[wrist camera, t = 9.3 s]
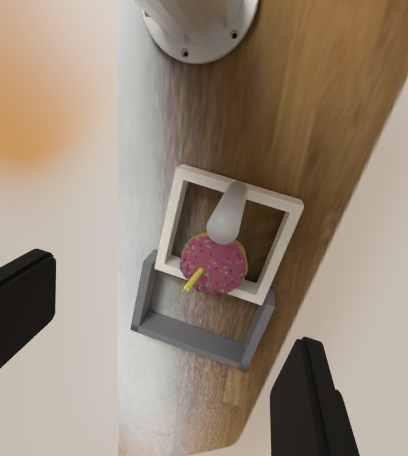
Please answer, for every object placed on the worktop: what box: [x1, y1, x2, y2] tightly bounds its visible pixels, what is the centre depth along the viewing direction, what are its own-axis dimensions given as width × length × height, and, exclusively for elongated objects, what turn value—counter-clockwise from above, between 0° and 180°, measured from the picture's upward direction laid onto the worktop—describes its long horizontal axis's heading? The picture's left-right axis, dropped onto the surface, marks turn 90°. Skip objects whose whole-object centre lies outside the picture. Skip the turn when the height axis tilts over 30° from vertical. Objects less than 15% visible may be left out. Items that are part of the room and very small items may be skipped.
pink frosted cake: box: [179, 232, 248, 295], centre depth 33 cm, size 9×8×12 cm
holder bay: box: [130, 250, 275, 372], centre depth 40 cm, size 12×18×4 cm
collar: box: [154, 164, 304, 305], centre depth 29 cm, size 15×15×16 cm
